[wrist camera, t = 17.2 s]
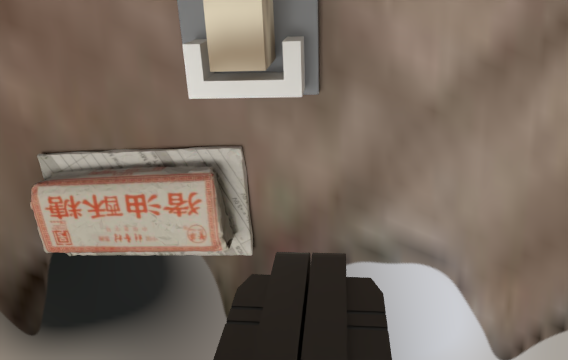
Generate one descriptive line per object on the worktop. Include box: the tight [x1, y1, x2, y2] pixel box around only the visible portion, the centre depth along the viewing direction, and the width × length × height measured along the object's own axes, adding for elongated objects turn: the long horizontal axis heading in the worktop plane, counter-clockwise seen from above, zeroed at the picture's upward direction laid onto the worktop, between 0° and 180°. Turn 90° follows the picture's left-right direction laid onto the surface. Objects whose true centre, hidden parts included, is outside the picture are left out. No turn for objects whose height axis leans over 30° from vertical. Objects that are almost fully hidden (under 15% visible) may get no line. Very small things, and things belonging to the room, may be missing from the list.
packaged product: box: [30, 146, 253, 256], centre depth 39 cm, size 18×5×10 cm
